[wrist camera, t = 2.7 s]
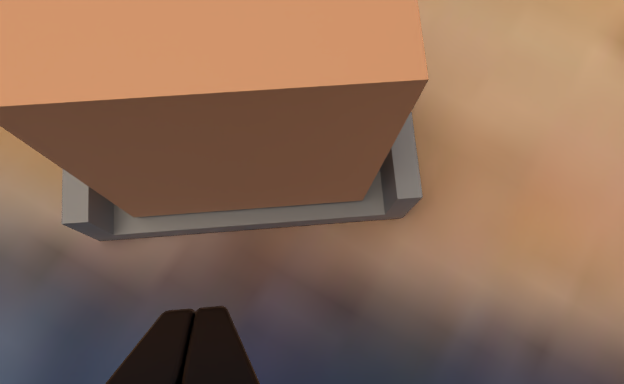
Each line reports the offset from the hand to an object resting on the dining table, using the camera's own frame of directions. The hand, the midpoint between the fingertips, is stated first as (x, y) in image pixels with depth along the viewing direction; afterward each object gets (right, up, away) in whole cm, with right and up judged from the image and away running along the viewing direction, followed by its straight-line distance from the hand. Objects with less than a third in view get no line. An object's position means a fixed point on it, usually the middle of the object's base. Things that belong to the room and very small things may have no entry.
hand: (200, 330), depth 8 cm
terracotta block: (-1, +3, +12) cm, 13 cm away
